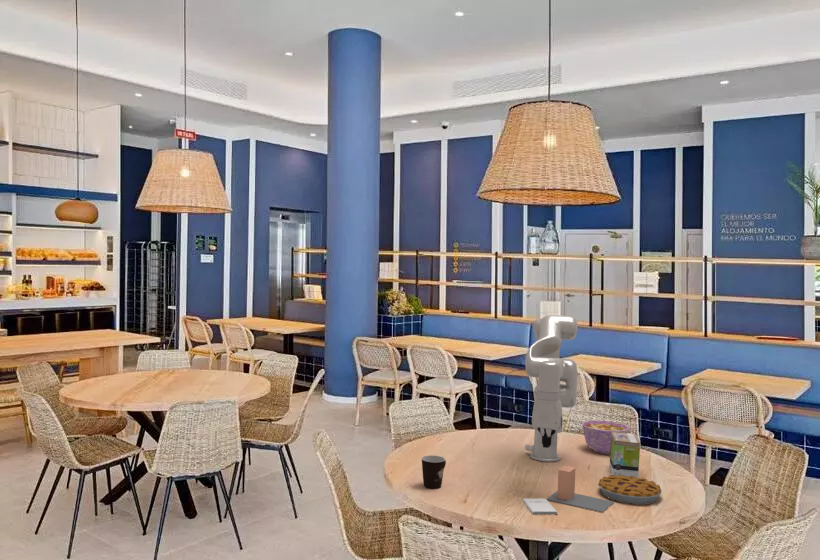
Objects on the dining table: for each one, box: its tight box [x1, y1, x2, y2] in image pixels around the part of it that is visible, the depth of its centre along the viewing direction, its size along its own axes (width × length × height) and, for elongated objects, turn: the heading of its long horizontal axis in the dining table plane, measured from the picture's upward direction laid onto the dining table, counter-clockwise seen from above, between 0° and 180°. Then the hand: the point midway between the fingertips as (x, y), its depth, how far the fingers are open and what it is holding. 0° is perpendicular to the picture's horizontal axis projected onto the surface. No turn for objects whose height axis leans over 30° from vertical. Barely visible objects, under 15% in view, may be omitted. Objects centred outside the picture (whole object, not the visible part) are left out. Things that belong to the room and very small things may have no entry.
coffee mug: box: [421, 454, 447, 490], centre depth 250 cm, size 12×9×10 cm
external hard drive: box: [522, 498, 558, 516], centre depth 231 cm, size 2×8×12 cm
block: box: [557, 465, 576, 501], centre depth 241 cm, size 4×6×10 cm, turn 147°
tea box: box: [608, 432, 641, 478], centre depth 272 cm, size 15×10×15 cm, turn 168°
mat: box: [546, 490, 615, 513], centre depth 238 cm, size 20×12×1 cm, turn 57°
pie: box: [597, 474, 662, 505], centre depth 247 cm, size 22×22×5 cm
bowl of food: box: [581, 419, 630, 455], centre depth 304 cm, size 20×20×12 cm
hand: (546, 446), depth 245 cm, fingers closed
